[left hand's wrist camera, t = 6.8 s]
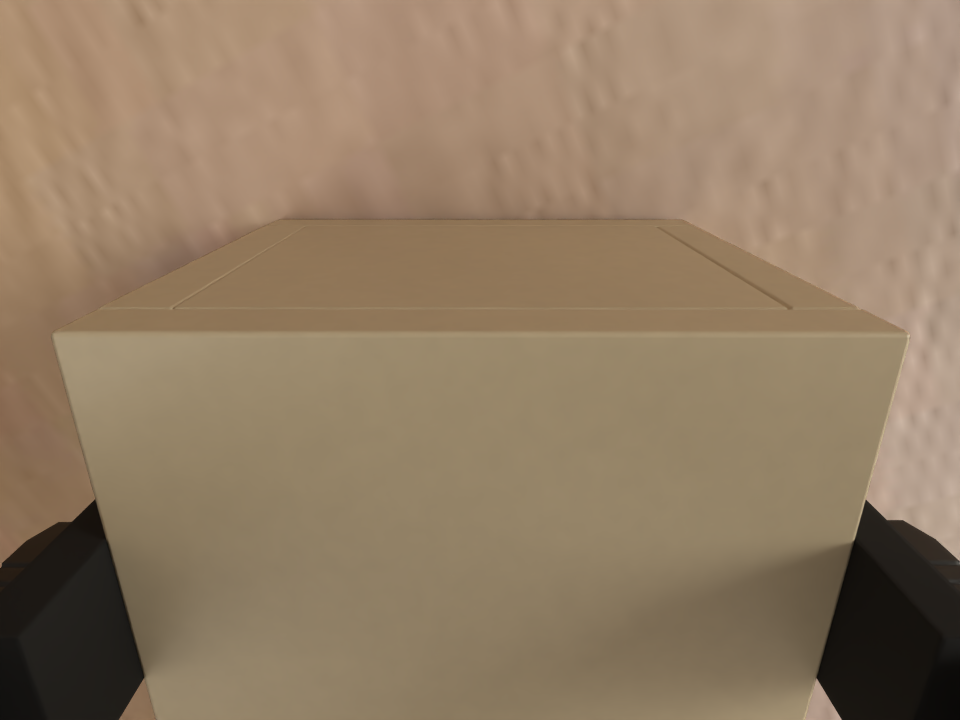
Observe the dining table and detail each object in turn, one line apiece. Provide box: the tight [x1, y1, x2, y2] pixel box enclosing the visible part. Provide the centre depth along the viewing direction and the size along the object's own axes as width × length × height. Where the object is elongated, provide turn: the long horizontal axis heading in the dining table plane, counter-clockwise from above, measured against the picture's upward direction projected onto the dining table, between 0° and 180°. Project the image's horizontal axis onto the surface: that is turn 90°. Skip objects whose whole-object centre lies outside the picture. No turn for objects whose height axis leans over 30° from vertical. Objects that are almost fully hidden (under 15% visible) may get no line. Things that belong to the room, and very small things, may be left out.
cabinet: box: [51, 220, 910, 720], centre depth 15 cm, size 16×11×9 cm, turn 0°
